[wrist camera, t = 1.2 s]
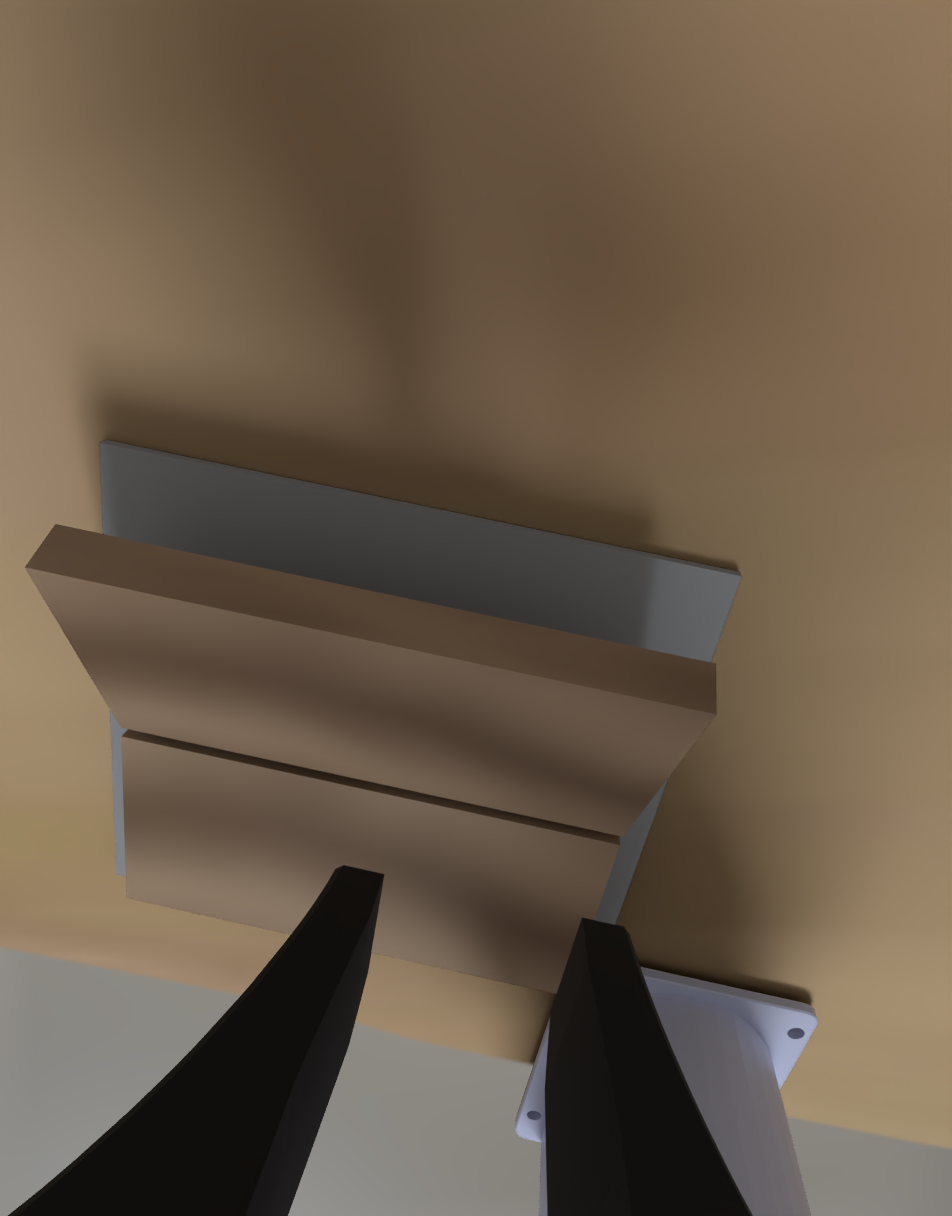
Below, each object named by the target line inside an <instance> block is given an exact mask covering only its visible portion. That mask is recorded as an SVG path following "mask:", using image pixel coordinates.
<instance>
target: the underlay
mask: <svg viewBox="0 0 952 1216" xmlns="http://www.w3.org/2000/svg"><path fill="white" fill-rule="evenodd" d="M99 445H100V471H101V496H102V521H103V534H105V535H109V536H114V537H119V538H124V539H128V540H133V541H138V542H143V543H147V544H152V545H157V546H161V547H166V548H171V549H176V550H180V551H185V552H190V553H195V554H199V555H204V556H209V557H214V558H218V559H223V560H228V561H233V562H237V563H242V564H247V565H251V566H256V567H261V568H266V569H270V570H275V571H280V572H285V573H289V574H294V575H299V576H304V577H308V578H313V579H318V580H322V581H327V582H332V583H337V584H341V585H346V586H351V587H356V588H360V589H365V590H370V591H375V592H379V593H384V594H389V595H393V596H398V597H403V598H408V599H412V600H417V601H422V602H427V603H431V604H436V605H441V606H446V607H450V608H455V609H460V610H465V611H469V612H474V613H479V614H483V615H488V616H493V617H498V618H502V619H507V620H512V621H517V622H521V623H526V624H531V625H536V626H540V627H545V628H550V629H554V630H559V631H564V632H569V633H573V634H578V635H583V636H588V637H592V638H597V639H602V640H607V641H611V642H616V643H621V644H626V645H630V646H635V647H640V648H644V649H649V650H654V651H659V652H663V653H668V654H673V655H678V656H682V657H687V658H692V659H697V660H701V661H706V662H711V660H712V657H713V654H714V652H715V649H716V646H717V643H718V641H719V638H720V635H721V632H722V630H723V627H724V624H725V621H726V619H727V616H728V613H729V610H730V608H731V605H732V602H733V599H734V597H735V594H736V591H737V588H738V586H739V583H740V580H741V577H742V576H741V574H740V572H738V571H734V570H729V569H724V568H719V567H714V566H710V565H705V564H700V563H695V562H690V561H686V560H681V559H676V558H671V557H666V556H661V555H657V554H652V553H647V552H642V551H637V550H633V549H628V548H623V547H618V546H613V545H609V544H604V543H599V542H594V541H589V540H585V539H580V538H575V537H570V536H565V535H561V534H556V533H551V532H546V531H541V530H537V529H532V528H527V527H522V526H517V525H513V524H508V523H503V522H498V521H493V520H489V519H484V518H479V517H474V516H469V515H464V514H460V513H455V512H450V511H445V510H440V509H436V508H431V507H426V506H421V505H416V504H412V503H407V502H402V501H397V500H392V499H388V498H383V497H378V496H373V495H368V494H364V493H359V492H354V491H349V490H344V489H340V488H335V487H330V486H325V485H320V484H316V483H311V482H306V481H301V480H296V479H291V478H287V477H282V476H277V475H272V474H267V473H263V472H258V471H253V470H248V469H243V468H239V467H234V466H229V465H224V464H219V463H215V462H210V461H205V460H200V459H195V458H191V457H186V456H181V455H176V454H171V453H167V452H162V451H157V450H152V449H147V448H143V447H138V446H133V445H128V444H123V443H119V442H114V441H109V440H105V441H102V442H100V443H99ZM110 721H111V746H112V771H113V796H114V821H115V847H116V872H117V875H121V876H125V877H126V868H125V838H124V807H123V777H122V746H121V736H122V735H123V734H124V733H125V732H126V731H127V730H128V729H125V728H121V727H120V725H119V724H118V722H117V720H116V719H115V717H114V715H113V714H112V712H111V710H110ZM668 778H669V777H668ZM667 781H668V779H667V780H666V781H665V783H664V784H663V785H662V787H661V788H660V789H659V790H658V792H657V793H656V794H655V796H654V797H653V798H652V800H651V801H650V802H649V804H648V805H647V806H646V808H645V809H644V810H643V811H642V813H641V814H640V815H639V817H638V818H637V819H636V821H635V822H634V823H633V825H632V826H631V827H630V829H629V830H628V831H627V832H626V834H625V835H624V836H623V837H622V836H620V847H619V850H618V853H617V856H616V859H615V862H614V865H613V868H612V871H611V874H610V876H609V879H608V882H607V885H606V888H605V891H604V894H603V897H602V900H601V902H600V905H599V908H598V911H597V914H596V917H595V920H596V921H600V922H605V923H609V924H614V925H615V924H616V921H617V919H618V916H619V913H620V910H621V908H622V905H623V902H624V899H625V897H626V894H627V891H628V888H629V886H630V883H631V880H632V877H633V875H634V872H635V869H636V866H637V864H638V861H639V858H640V855H641V853H642V850H643V847H644V844H645V842H646V839H647V836H648V833H649V830H650V828H651V825H652V822H653V819H654V817H655V814H656V811H657V808H658V806H659V803H660V800H661V797H662V795H663V792H664V789H665V786H666V784H667Z"/></svg>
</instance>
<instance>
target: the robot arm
mask: <svg viewBox="0 0 952 1216" xmlns="http://www.w3.org/2000/svg"><path fill="white" fill-rule="evenodd" d="M384 875H385V874H382V873H378V872H373V871H369V870H364V869H359V868H355V867H350V866H346V865H343V866H341V867H338V868H336V869H335V870H334V872H333V874H332V875H331V877H330V879H329V881H328V882H327V884H326V885H325V887H324V889H323V890H322V892H321V893H320V895H319V896H318V898H317V899H316V901H315V902H314V904H313V905H312V907H311V908H310V909H309V911H308V912H307V914H306V915H305V916H304V918H303V919H302V920H301V922H300V923H299V925H298V926H297V927H296V929H295V930H294V931H293V933H292V934H291V935H290V937H289V938H288V939H287V941H286V942H285V943H284V944H283V946H282V947H281V948H280V949H279V950H278V952H277V953H276V954H275V955H274V957H273V958H272V959H271V960H270V961H269V963H268V964H267V965H266V966H265V968H264V969H263V970H262V971H261V973H260V974H259V975H258V976H257V977H256V979H255V980H254V981H253V982H252V984H251V985H250V986H249V987H248V988H247V989H246V991H245V992H244V993H243V994H242V995H241V996H240V997H239V998H238V1000H237V1001H236V1002H235V1003H234V1004H233V1005H232V1006H231V1007H230V1008H229V1009H228V1011H227V1012H226V1013H225V1014H224V1015H223V1016H222V1017H221V1018H220V1019H219V1021H218V1022H217V1023H216V1024H215V1025H214V1026H213V1027H212V1028H211V1029H210V1031H209V1032H208V1033H207V1034H206V1035H205V1036H204V1037H203V1038H202V1039H201V1040H200V1041H199V1042H198V1043H197V1045H196V1046H195V1047H194V1048H193V1049H192V1050H191V1051H190V1052H189V1053H188V1054H187V1055H186V1056H185V1057H184V1058H183V1059H182V1060H181V1061H180V1062H179V1063H178V1064H177V1065H176V1066H175V1067H174V1068H173V1069H172V1070H171V1071H170V1072H169V1073H168V1074H167V1075H166V1076H165V1077H164V1078H163V1079H162V1080H161V1081H160V1082H159V1083H158V1084H157V1085H156V1086H155V1087H154V1088H153V1089H152V1090H151V1091H150V1092H149V1093H148V1094H147V1095H146V1096H145V1097H144V1098H142V1099H141V1100H140V1102H138V1103H137V1104H136V1105H135V1106H134V1107H133V1108H132V1109H131V1110H130V1111H129V1112H128V1113H127V1114H126V1115H124V1116H123V1117H122V1118H121V1119H120V1120H119V1121H118V1122H117V1123H116V1124H114V1126H112V1127H111V1128H110V1129H109V1130H108V1131H107V1132H106V1133H104V1134H103V1135H102V1136H101V1137H100V1138H99V1139H98V1140H97V1141H96V1142H94V1143H93V1144H92V1145H91V1146H90V1147H89V1148H88V1149H87V1150H86V1151H85V1152H84V1153H82V1154H81V1155H80V1156H79V1157H78V1158H77V1159H76V1160H75V1161H73V1162H72V1163H71V1164H70V1165H69V1166H68V1167H66V1168H65V1169H64V1170H63V1171H62V1172H61V1173H59V1174H58V1175H57V1176H56V1177H55V1178H54V1179H52V1180H51V1181H50V1182H49V1183H48V1184H47V1185H45V1186H44V1187H43V1188H42V1189H40V1190H39V1191H38V1192H37V1193H36V1194H34V1195H33V1196H32V1197H31V1198H29V1199H28V1200H27V1201H26V1202H25V1203H23V1204H22V1205H21V1206H19V1207H18V1208H17V1209H16V1210H14V1211H13V1212H12V1213H11V1214H9V1215H8V1216H288V1214H289V1211H290V1208H291V1205H292V1202H293V1200H294V1197H295V1194H296V1191H297V1189H298V1186H299V1183H300V1180H301V1177H302V1175H303V1172H304V1169H305V1166H306V1163H307V1161H308V1158H309V1155H310V1152H311V1149H312V1147H313V1144H314V1141H315V1138H316V1136H317V1133H318V1130H319V1127H320V1124H321V1121H322V1119H323V1116H324V1113H325V1111H326V1107H327V1105H328V1102H329V1099H330V1096H331V1094H332V1091H333V1088H334V1085H335V1083H336V1080H337V1077H338V1074H339V1071H340V1068H341V1066H342V1063H343V1060H344V1057H345V1055H346V1052H347V1049H348V1046H349V1043H350V1039H351V1035H352V1031H353V1028H354V1024H355V1020H356V1016H357V1012H358V1008H359V1005H360V1001H361V997H362V993H363V989H364V985H365V981H366V978H367V974H368V969H369V963H370V957H371V951H372V946H373V940H374V934H375V928H376V922H377V916H378V910H379V904H380V898H381V892H382V886H383V880H384ZM817 1023H818V1020H817V1017H816V1014H815V1011H814V1008H812V1007H811V1006H810V1005H808V1004H805V1003H802V1002H798V1001H793V1000H789V999H784V998H780V997H775V996H771V995H766V994H762V993H757V992H753V991H748V990H744V989H739V988H735V987H730V986H726V985H721V984H717V983H712V982H708V981H703V980H699V979H694V978H689V977H685V976H680V975H676V974H671V973H667V972H662V971H658V970H653V969H649V968H644V967H640V965H639V962H638V959H637V956H636V953H635V950H634V947H633V944H632V941H631V938H630V935H629V933H628V932H627V930H626V929H625V927H623V926H618V925H614V924H609V923H605V922H600V921H596V920H591V919H587V918H582V919H581V922H580V925H579V928H578V931H577V934H576V937H575V940H574V943H573V946H572V949H571V952H570V955H569V958H568V961H567V964H566V967H565V970H564V973H563V976H562V979H561V982H560V985H559V988H558V991H557V994H556V997H555V1000H554V1003H553V1006H552V1009H551V1012H550V1018H549V1021H548V1024H547V1027H546V1030H545V1033H544V1036H543V1039H542V1042H541V1045H540V1047H539V1050H538V1053H537V1056H536V1059H535V1062H534V1065H533V1068H532V1071H531V1074H530V1077H529V1080H528V1083H527V1086H526V1089H525V1092H524V1096H523V1098H522V1101H521V1104H520V1107H519V1110H518V1113H517V1116H516V1120H515V1131H516V1133H517V1134H518V1135H519V1136H520V1137H522V1138H525V1139H529V1140H533V1141H537V1142H541V1158H540V1191H539V1216H811V1212H810V1208H809V1204H808V1200H807V1197H806V1192H805V1188H804V1185H803V1181H802V1177H801V1173H800V1169H799V1165H798V1161H797V1157H796V1153H795V1149H794V1145H793V1141H792V1137H791V1133H790V1129H789V1125H788V1121H787V1117H786V1113H785V1109H784V1105H783V1101H782V1097H781V1093H780V1089H781V1087H782V1085H783V1084H784V1082H785V1080H786V1078H787V1077H788V1075H789V1073H790V1071H791V1070H792V1068H793V1066H794V1064H795V1063H796V1061H797V1059H798V1057H799V1056H800V1054H801V1052H802V1050H803V1049H804V1047H805V1045H806V1044H807V1042H808V1040H809V1038H810V1037H811V1035H812V1033H813V1031H814V1030H815V1028H816V1026H817Z"/></svg>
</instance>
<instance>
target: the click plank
mask: <svg viewBox="0 0 952 1216" xmlns="http://www.w3.org/2000/svg"><path fill="white" fill-rule="evenodd" d="M25 568H26V570H27V572H28V573H29V575H30V577H31V578H32V580H33V582H34V583H35V585H36V587H37V588H38V590H39V592H40V593H41V595H42V597H43V598H44V600H45V602H46V603H47V605H48V607H49V608H50V610H51V612H52V613H53V615H54V617H55V618H56V620H57V622H58V623H59V625H60V627H61V629H62V630H63V632H64V634H65V635H66V637H67V639H68V640H69V642H70V644H71V645H72V647H73V649H74V650H75V652H76V654H77V655H78V657H79V659H80V660H81V662H82V664H83V665H84V667H85V669H86V670H87V672H88V674H89V675H90V677H91V679H92V680H93V682H94V684H95V685H96V687H97V689H98V690H99V692H100V694H101V695H102V697H103V699H104V700H105V702H106V704H107V705H108V707H109V709H110V710H111V712H112V714H113V715H114V717H115V719H116V720H117V722H118V724H119V725H120V727H121V728H125V729H130V730H134V731H139V732H143V733H148V734H153V735H157V736H162V737H166V738H171V739H176V740H180V741H185V742H189V743H194V744H199V745H203V746H208V747H212V748H217V749H222V750H226V751H231V752H235V753H240V754H245V755H249V756H254V757H258V758H263V759H268V760H272V761H277V762H281V763H286V764H291V765H295V766H300V767H304V768H309V769H314V770H318V771H323V772H327V773H332V774H337V775H341V776H346V777H350V778H355V779H360V780H364V781H369V782H373V783H378V784H383V785H387V786H392V787H396V788H401V789H406V790H410V791H415V792H419V793H424V794H429V795H433V796H438V797H442V798H447V799H452V800H456V801H461V802H465V803H470V804H475V805H479V806H484V807H488V808H493V809H498V810H502V811H507V812H511V813H516V814H521V815H525V816H530V817H534V818H539V819H544V820H548V821H553V822H557V823H562V824H567V825H571V826H576V827H580V828H585V829H590V830H594V831H599V832H603V833H608V834H613V835H617V836H622V837H623V836H624V835H625V834H626V832H627V831H628V830H629V829H630V827H631V826H632V825H633V823H634V822H635V821H636V819H637V818H638V817H639V815H640V814H641V813H642V811H643V810H644V809H645V808H646V806H647V805H648V804H649V802H650V801H651V800H652V798H653V797H654V796H655V794H656V793H657V792H658V790H659V789H660V788H661V787H662V785H663V784H664V783H665V781H666V780H667V779H668V777H669V776H670V775H671V773H672V772H673V771H674V770H675V768H676V767H677V766H678V764H679V763H680V762H681V760H682V759H683V758H684V756H685V755H686V754H687V752H688V751H689V750H690V749H691V747H692V746H693V745H694V743H695V742H696V741H697V739H698V738H699V737H700V735H701V734H702V733H703V732H704V730H705V729H706V728H707V726H708V725H709V724H710V722H711V721H712V720H713V718H714V717H715V716H716V664H715V663H711V662H706V661H701V660H697V659H692V658H687V657H682V656H678V655H673V654H668V653H663V652H659V651H654V650H649V649H644V648H640V647H635V646H630V645H626V644H621V643H616V642H611V641H607V640H602V639H597V638H592V637H588V636H583V635H578V634H573V633H569V632H564V631H559V630H554V629H550V628H545V627H540V626H536V625H531V624H526V623H521V622H517V621H512V620H507V619H502V618H498V617H493V616H488V615H483V614H479V613H474V612H469V611H465V610H460V609H455V608H450V607H446V606H441V605H436V604H431V603H427V602H422V601H417V600H412V599H408V598H403V597H398V596H393V595H389V594H384V593H379V592H375V591H370V590H365V589H360V588H356V587H351V586H346V585H341V584H337V583H332V582H327V581H322V580H318V579H313V578H308V577H304V576H299V575H294V574H289V573H285V572H280V571H275V570H270V569H266V568H261V567H256V566H251V565H247V564H242V563H237V562H233V561H228V560H223V559H218V558H214V557H209V556H204V555H199V554H195V553H190V552H185V551H180V550H176V549H171V548H166V547H161V546H157V545H152V544H147V543H143V542H138V541H133V540H128V539H124V538H119V537H114V536H109V535H105V534H100V533H95V532H90V531H86V530H81V529H76V528H72V527H67V526H62V525H57V524H55V526H54V527H53V528H52V530H51V531H50V533H49V534H48V535H47V537H46V538H45V540H44V541H43V542H42V544H41V545H40V547H39V548H38V550H37V551H36V552H35V554H34V555H33V557H32V558H31V559H30V561H29V562H28V564H27V565H26V567H25Z"/></svg>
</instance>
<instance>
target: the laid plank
mask: <svg viewBox="0 0 952 1216" xmlns="http://www.w3.org/2000/svg"><path fill="white" fill-rule="evenodd" d="M121 746H122V777H123V807H124V838H125V868H126V898H128V899H133V900H137V901H142V902H146V903H151V904H155V905H160V906H164V907H169V908H173V909H178V910H182V911H187V912H191V913H196V914H200V915H205V916H209V917H214V918H218V919H222V920H227V921H231V922H236V923H240V924H245V925H249V926H254V927H258V928H263V929H267V930H272V931H276V932H281V933H285V934H290V935H291V934H292V933H293V931H294V930H295V929H296V927H297V926H298V925H299V923H300V922H301V920H302V919H303V918H304V916H305V915H306V914H307V912H308V911H309V909H310V908H311V907H312V905H313V904H314V902H315V901H316V899H317V898H318V896H319V895H320V893H321V892H322V890H323V889H324V887H325V885H326V884H327V882H328V881H329V879H330V877H331V875H332V874H333V872H334V870H335V869H336V868H338V867H341V866H343V865H346V866H350V867H355V868H359V869H364V870H369V871H373V872H378V873H382V874H385V875H384V880H383V886H382V892H381V898H380V904H379V910H378V916H377V922H376V928H375V934H374V940H373V946H372V951H371V953H375V954H380V955H384V956H389V957H393V958H397V959H402V960H406V961H411V962H415V963H420V964H424V965H429V966H433V967H438V968H442V969H447V970H451V971H456V972H460V973H465V974H469V975H474V976H478V977H483V978H487V979H492V980H496V981H501V982H505V983H510V984H514V985H519V986H523V987H528V988H532V989H537V990H541V991H546V992H550V993H555V994H557V991H558V988H559V985H560V982H561V979H562V976H563V973H564V970H565V967H566V964H567V961H568V958H569V955H570V952H571V949H572V946H573V943H574V940H575V937H576V934H577V931H578V928H579V925H580V922H581V919H582V918H587V919H591V920H595V917H596V914H597V911H598V908H599V905H600V902H601V900H602V897H603V894H604V891H605V888H606V885H607V882H608V879H609V876H610V874H611V871H612V868H613V865H614V862H615V859H616V856H617V853H618V850H619V847H620V836H617V835H613V834H608V833H603V832H599V831H594V830H590V829H585V828H580V827H576V826H571V825H567V824H562V823H557V822H553V821H548V820H544V819H539V818H534V817H530V816H525V815H521V814H516V813H511V812H507V811H502V810H498V809H493V808H488V807H484V806H479V805H475V804H470V803H465V802H461V801H456V800H452V799H447V798H442V797H438V796H433V795H429V794H424V793H419V792H415V791H410V790H406V789H401V788H396V787H392V786H387V785H383V784H378V783H373V782H369V781H364V780H360V779H355V778H350V777H346V776H341V775H337V774H332V773H327V772H323V771H318V770H314V769H309V768H304V767H300V766H295V765H291V764H286V763H281V762H277V761H272V760H268V759H263V758H258V757H254V756H249V755H245V754H240V753H235V752H231V751H226V750H222V749H217V748H212V747H208V746H203V745H199V744H194V743H189V742H185V741H180V740H176V739H171V738H166V737H162V736H157V735H153V734H148V733H143V732H139V731H134V730H130V729H128V730H127V731H126V732H125V733H124V734H123V735H122V736H121Z"/></svg>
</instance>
